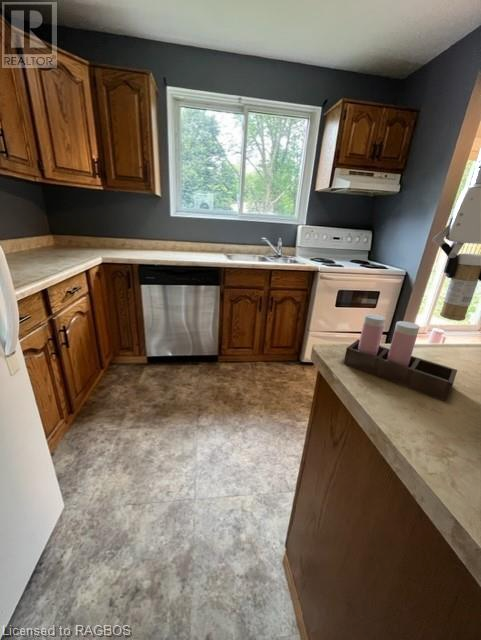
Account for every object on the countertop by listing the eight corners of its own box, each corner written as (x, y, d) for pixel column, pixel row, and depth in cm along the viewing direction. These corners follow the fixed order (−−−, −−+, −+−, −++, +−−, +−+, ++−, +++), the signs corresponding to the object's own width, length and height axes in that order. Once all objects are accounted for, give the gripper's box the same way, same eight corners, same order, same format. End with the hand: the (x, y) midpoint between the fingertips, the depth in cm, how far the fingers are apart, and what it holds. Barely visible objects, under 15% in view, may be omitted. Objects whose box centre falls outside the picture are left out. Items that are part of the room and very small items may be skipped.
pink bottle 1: (377, 361, 74) (388, 316, 69) (371, 368, 70) (382, 321, 66) (359, 355, 77) (368, 312, 72) (352, 361, 73) (362, 316, 69)
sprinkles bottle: (456, 315, 60) (477, 253, 56) (469, 322, 56) (493, 256, 52) (434, 313, 61) (453, 252, 56) (446, 320, 57) (467, 255, 52)
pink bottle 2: (407, 372, 69) (421, 324, 65) (402, 379, 66) (417, 330, 61) (387, 365, 72) (399, 319, 68) (381, 371, 69) (394, 324, 64)
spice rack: (451, 386, 65) (457, 369, 63) (446, 401, 59) (453, 383, 57) (355, 353, 79) (358, 339, 78) (343, 363, 73) (346, 347, 72)
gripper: (549, 181, 49) (510, 280, 55) (438, 183, 56) (415, 271, 62) (573, 174, 43) (527, 287, 49) (444, 177, 50) (418, 276, 56)
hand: (464, 277), depth 56 cm, fingers closed on sprinkles bottle, 4 cm apart
